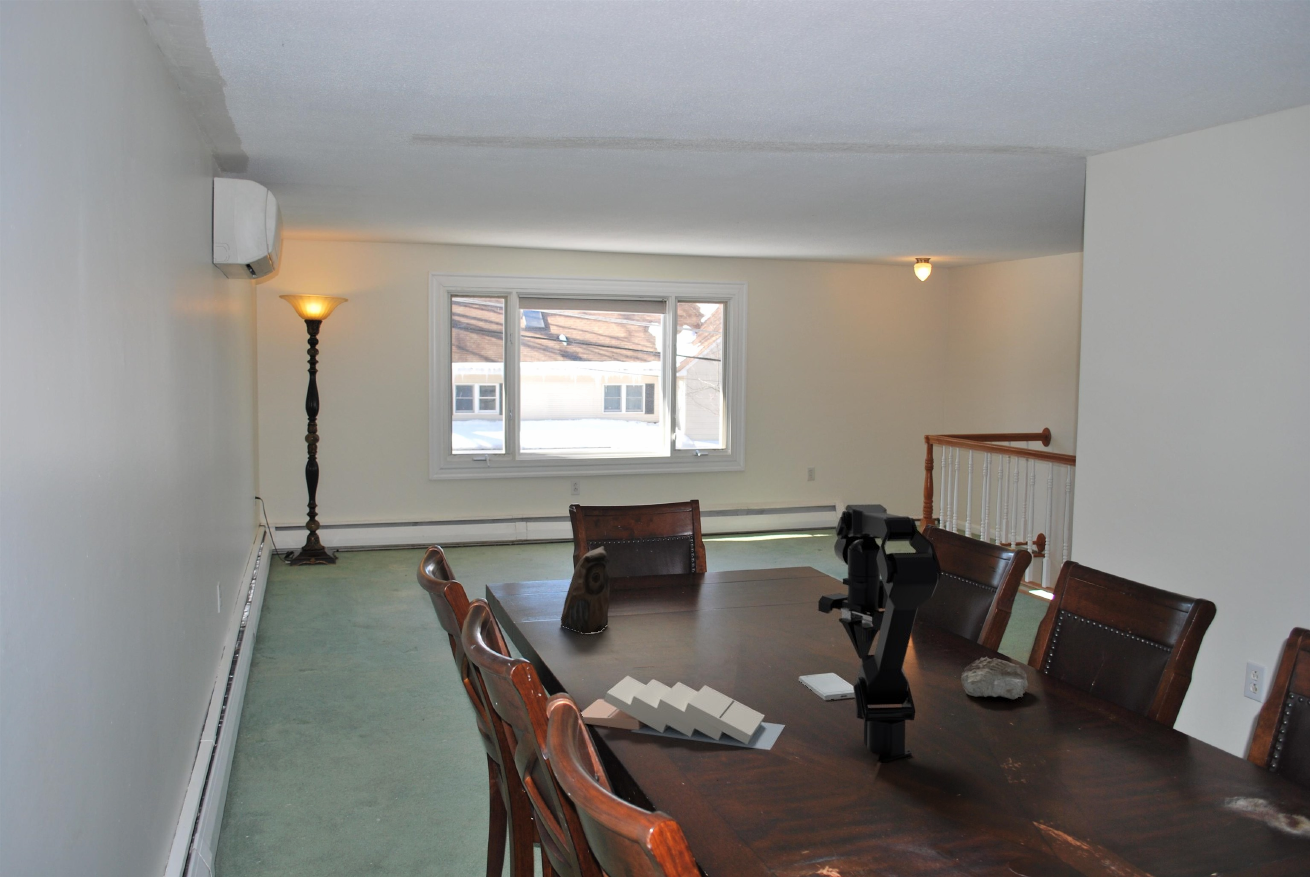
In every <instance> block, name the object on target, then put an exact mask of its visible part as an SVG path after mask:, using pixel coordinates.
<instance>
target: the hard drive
mask: <svg viewBox="0 0 1310 877" xmlns="http://www.w3.org/2000/svg"><path fill="white" fill-rule="evenodd" d="M799 681H800V683H801V682H802V683H801V684H802V685H803V684H804V686H805V685H806V686H807V687H808V688H807V687H806V686H805V687H806V688H807V689H808V690H810V689H811V690H812V691H811V690H810V691H811V692H813V693H814V694H816V695H817V696H818V697H819V698H821V699H822V700H824V701H832V700H831V699H834V700H841V699H851V698H855V696H854V689H853V686H854V685H852V684H851V683H849V682H848V681H846V680H844V678H842V677H840V676H839V675H838V674H836V673H834V672H828V673H819V674H818V673H817V674H808V675H801V676H798V682H799Z"/></svg>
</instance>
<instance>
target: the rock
mask: <svg viewBox="0 0 1310 877" xmlns="http://www.w3.org/2000/svg"><path fill="white" fill-rule="evenodd" d="M1027 678H1028V677H1027V673H1026V671H1025V670H1023V669H1022V667H1021V666H1020V665H1017V664H1014V663H1011V662H1009V661H1006V660H1002V659H998V658H996V657H994V658H992V659H991V658H989V657H988V656H986V657H983V656H981V657H980V658H979V659H976V660H974V661H973V662H972V663H969V664H968V665H967V666H966V667H965V668H964V671H962V673H961V677H960V682H961V686H962V688H963V690H964V691H965V692H966V693H965V694H967V695H969V696H973V697H976V698H977V697H985V698H987V697H994V698H997V697H1002V698H1007V699H1010V700H1015V699H1019V698H1018V697H1021V698H1022V697H1024V695H1023V694H1025V693H1026V690H1027V688H1028V686H1029V682H1028V680H1027Z"/></svg>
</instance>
